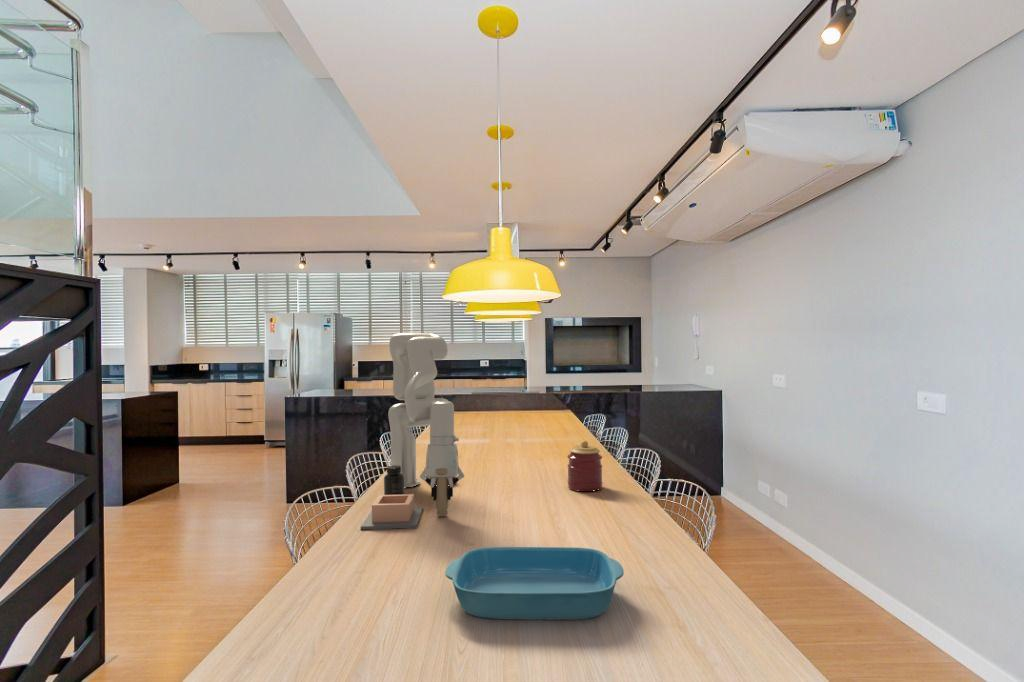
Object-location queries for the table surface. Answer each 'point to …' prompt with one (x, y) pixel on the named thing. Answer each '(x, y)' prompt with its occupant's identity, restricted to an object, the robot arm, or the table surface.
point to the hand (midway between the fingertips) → (442, 498)
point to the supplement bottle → (394, 481)
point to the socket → (393, 512)
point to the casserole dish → (534, 582)
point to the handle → (442, 493)
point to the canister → (584, 468)
